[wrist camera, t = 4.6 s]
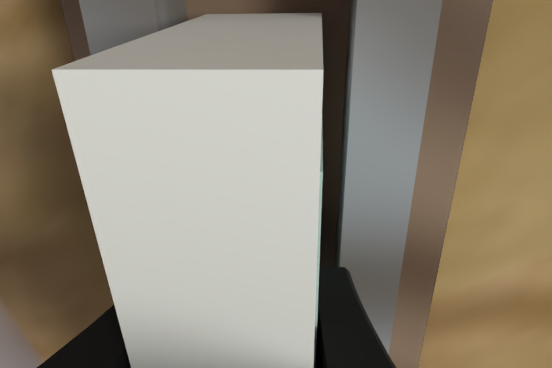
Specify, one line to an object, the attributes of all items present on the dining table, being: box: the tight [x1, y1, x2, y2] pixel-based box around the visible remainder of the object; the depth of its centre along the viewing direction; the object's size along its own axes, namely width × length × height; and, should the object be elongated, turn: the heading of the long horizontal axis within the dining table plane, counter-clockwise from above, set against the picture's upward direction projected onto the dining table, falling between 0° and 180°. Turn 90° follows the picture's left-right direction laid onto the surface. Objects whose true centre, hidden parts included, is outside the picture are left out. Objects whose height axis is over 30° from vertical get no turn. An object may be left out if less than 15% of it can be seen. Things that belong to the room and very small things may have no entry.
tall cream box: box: [52, 13, 323, 368], centre depth 9 cm, size 12×3×6 cm, turn 1°
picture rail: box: [60, 0, 493, 368], centre depth 12 cm, size 22×10×3 cm, turn 1°
